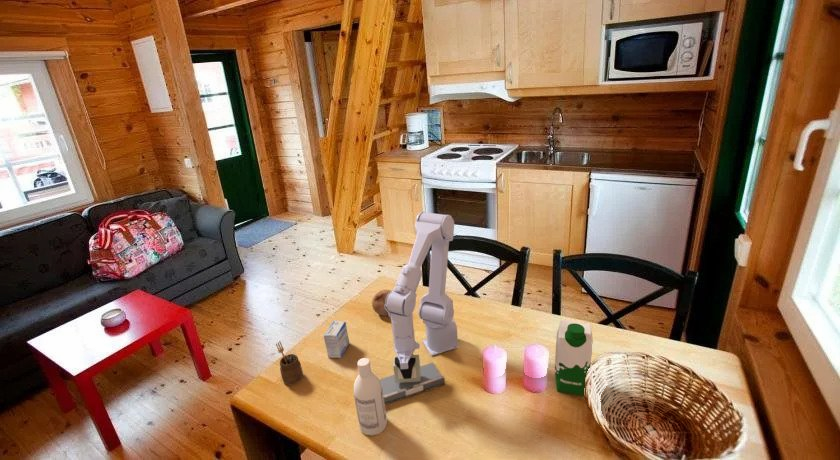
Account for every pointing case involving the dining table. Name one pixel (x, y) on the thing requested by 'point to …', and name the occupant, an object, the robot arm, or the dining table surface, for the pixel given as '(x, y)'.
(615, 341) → the dining table surface
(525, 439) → the dining table surface
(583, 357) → the milk carton
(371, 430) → the bath foam
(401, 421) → the dining table surface
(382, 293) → the onion
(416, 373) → the carton
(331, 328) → the medicine box
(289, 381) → the utensil holder
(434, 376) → the shelf board
